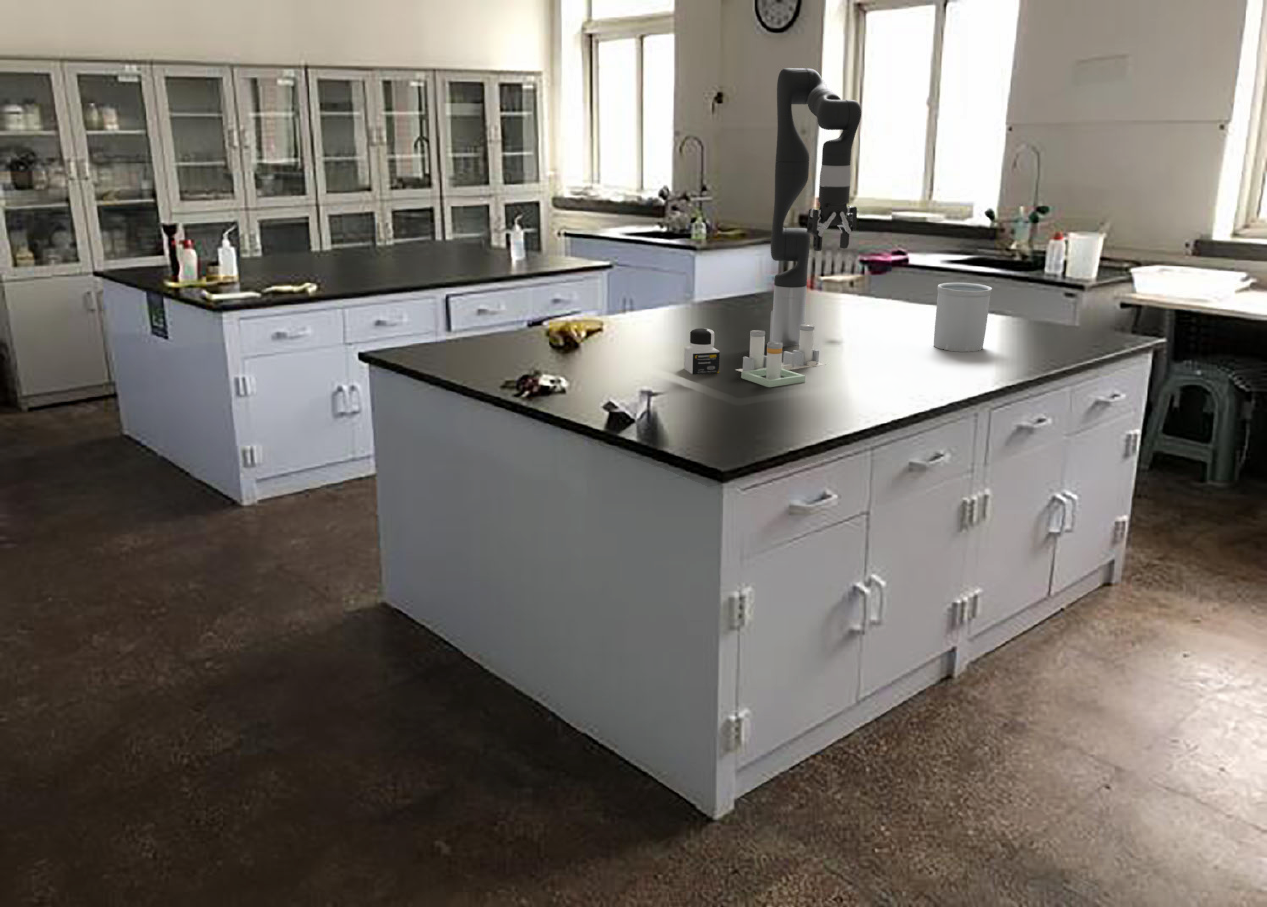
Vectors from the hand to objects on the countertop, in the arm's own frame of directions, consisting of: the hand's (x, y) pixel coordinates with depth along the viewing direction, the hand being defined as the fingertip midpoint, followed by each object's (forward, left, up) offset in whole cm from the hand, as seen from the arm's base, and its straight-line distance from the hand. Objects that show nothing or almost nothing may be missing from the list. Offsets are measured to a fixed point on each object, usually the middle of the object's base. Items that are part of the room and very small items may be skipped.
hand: (830, 249), depth 265 cm
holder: (0, -14, -31) cm, 34 cm away
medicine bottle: (-7, -34, -31) cm, 46 cm away
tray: (+10, -25, -31) cm, 40 cm away
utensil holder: (0, +51, -31) cm, 60 cm away
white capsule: (0, -6, -29) cm, 30 cm away
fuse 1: (0, -22, -29) cm, 36 cm away
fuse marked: (+10, -24, -30) cm, 40 cm away
